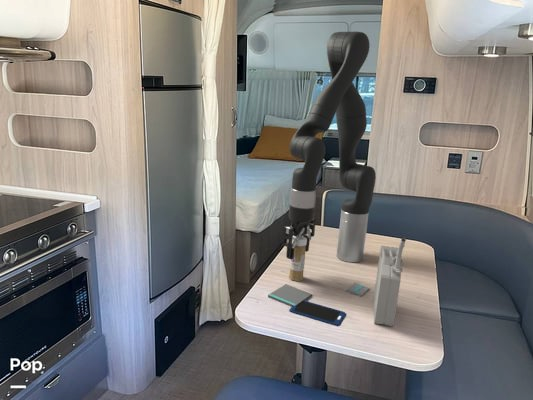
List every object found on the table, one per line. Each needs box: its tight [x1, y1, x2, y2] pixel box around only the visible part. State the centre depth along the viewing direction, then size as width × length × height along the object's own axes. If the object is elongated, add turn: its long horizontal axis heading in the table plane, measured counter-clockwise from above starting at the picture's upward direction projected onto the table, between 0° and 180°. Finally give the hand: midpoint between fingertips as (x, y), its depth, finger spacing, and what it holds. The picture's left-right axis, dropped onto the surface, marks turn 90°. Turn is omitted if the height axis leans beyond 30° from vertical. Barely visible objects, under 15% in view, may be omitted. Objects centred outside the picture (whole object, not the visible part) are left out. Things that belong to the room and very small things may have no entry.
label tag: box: [345, 282, 371, 297], centre depth 130 cm, size 6×5×1 cm
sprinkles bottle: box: [288, 236, 307, 282], centre depth 133 cm, size 5×5×13 cm
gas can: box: [372, 237, 407, 327], centre depth 113 cm, size 15×5×25 cm, turn 168°
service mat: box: [267, 283, 313, 308], centre depth 124 cm, size 9×9×1 cm
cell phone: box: [288, 300, 347, 327], centre depth 116 cm, size 7×14×1 cm, turn 64°
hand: (297, 254), depth 133 cm, fingers open, 8 cm apart
